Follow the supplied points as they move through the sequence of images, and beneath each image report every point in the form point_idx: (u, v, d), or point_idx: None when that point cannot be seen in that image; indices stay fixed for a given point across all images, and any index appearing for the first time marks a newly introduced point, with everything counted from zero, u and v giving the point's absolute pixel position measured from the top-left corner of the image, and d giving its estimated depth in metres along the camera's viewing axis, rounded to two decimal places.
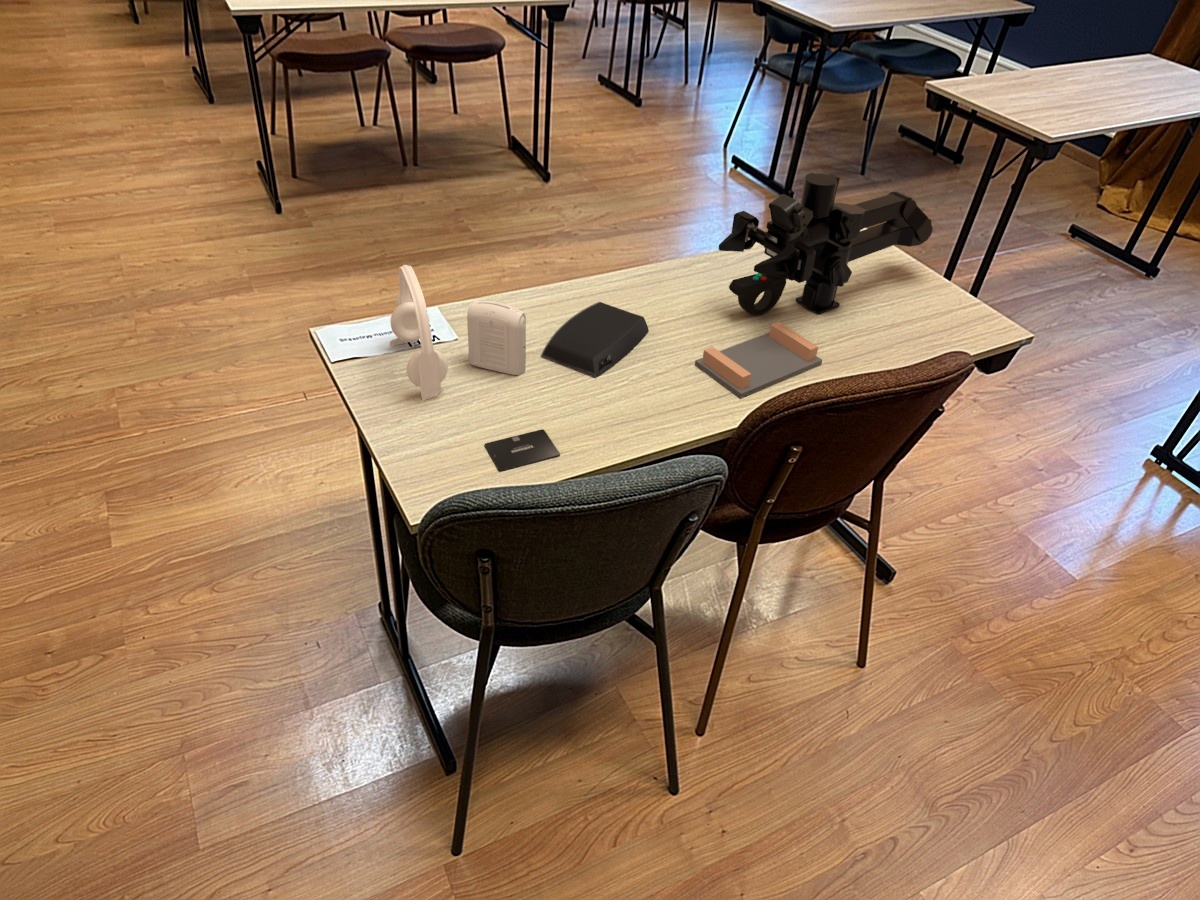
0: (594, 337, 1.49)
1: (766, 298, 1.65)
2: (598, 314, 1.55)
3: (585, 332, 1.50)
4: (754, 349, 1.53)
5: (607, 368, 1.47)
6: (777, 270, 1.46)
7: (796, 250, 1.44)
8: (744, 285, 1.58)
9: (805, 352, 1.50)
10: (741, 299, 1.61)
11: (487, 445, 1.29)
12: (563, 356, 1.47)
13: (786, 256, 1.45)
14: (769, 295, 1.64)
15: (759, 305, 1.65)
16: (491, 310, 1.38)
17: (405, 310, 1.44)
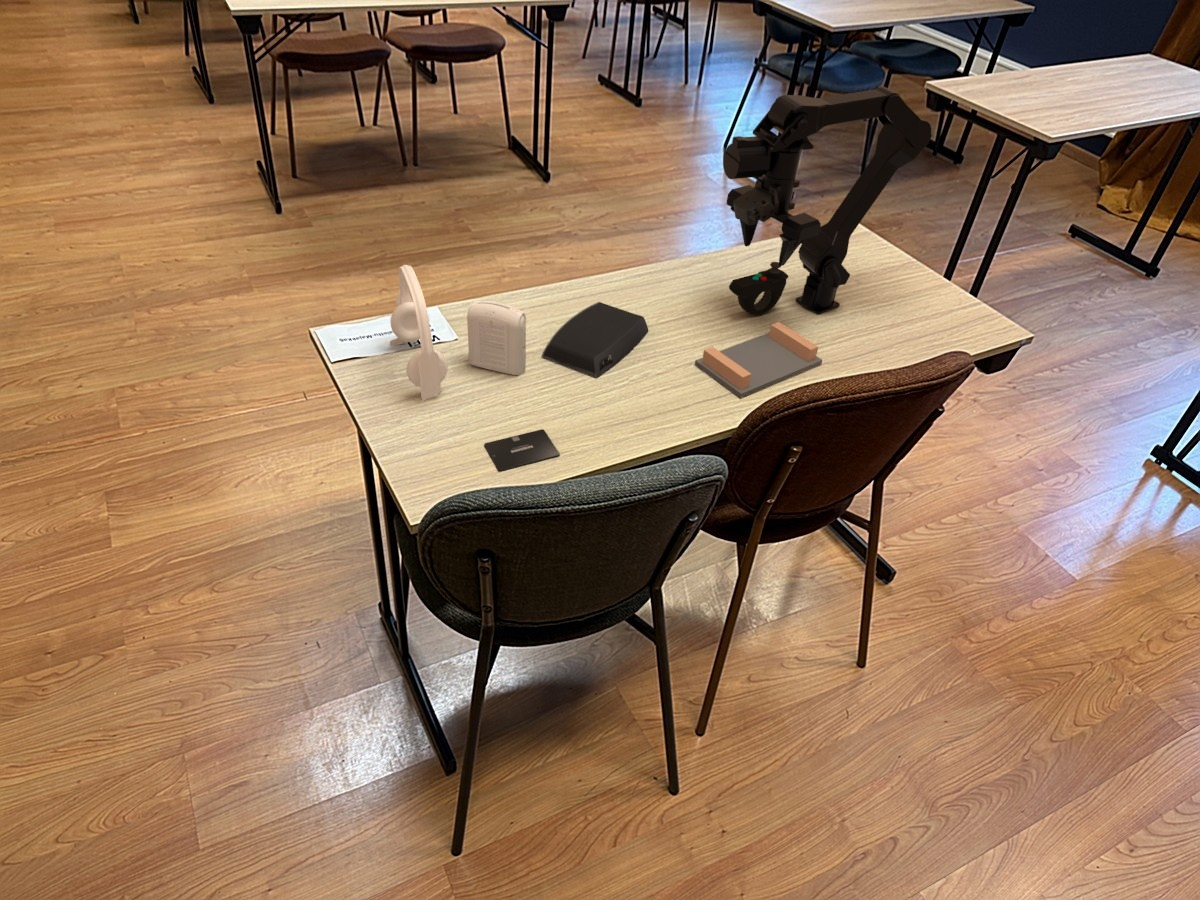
0: (594, 337, 1.49)
1: (766, 298, 1.65)
2: (598, 314, 1.55)
3: (585, 332, 1.50)
4: (754, 349, 1.53)
5: (608, 368, 1.47)
6: (795, 244, 1.51)
7: (788, 240, 1.47)
8: (744, 285, 1.58)
9: (805, 352, 1.50)
10: (741, 299, 1.61)
11: (487, 444, 1.29)
12: (564, 357, 1.47)
13: (788, 243, 1.49)
14: (769, 295, 1.64)
15: (759, 305, 1.65)
16: (491, 310, 1.38)
17: (405, 310, 1.44)
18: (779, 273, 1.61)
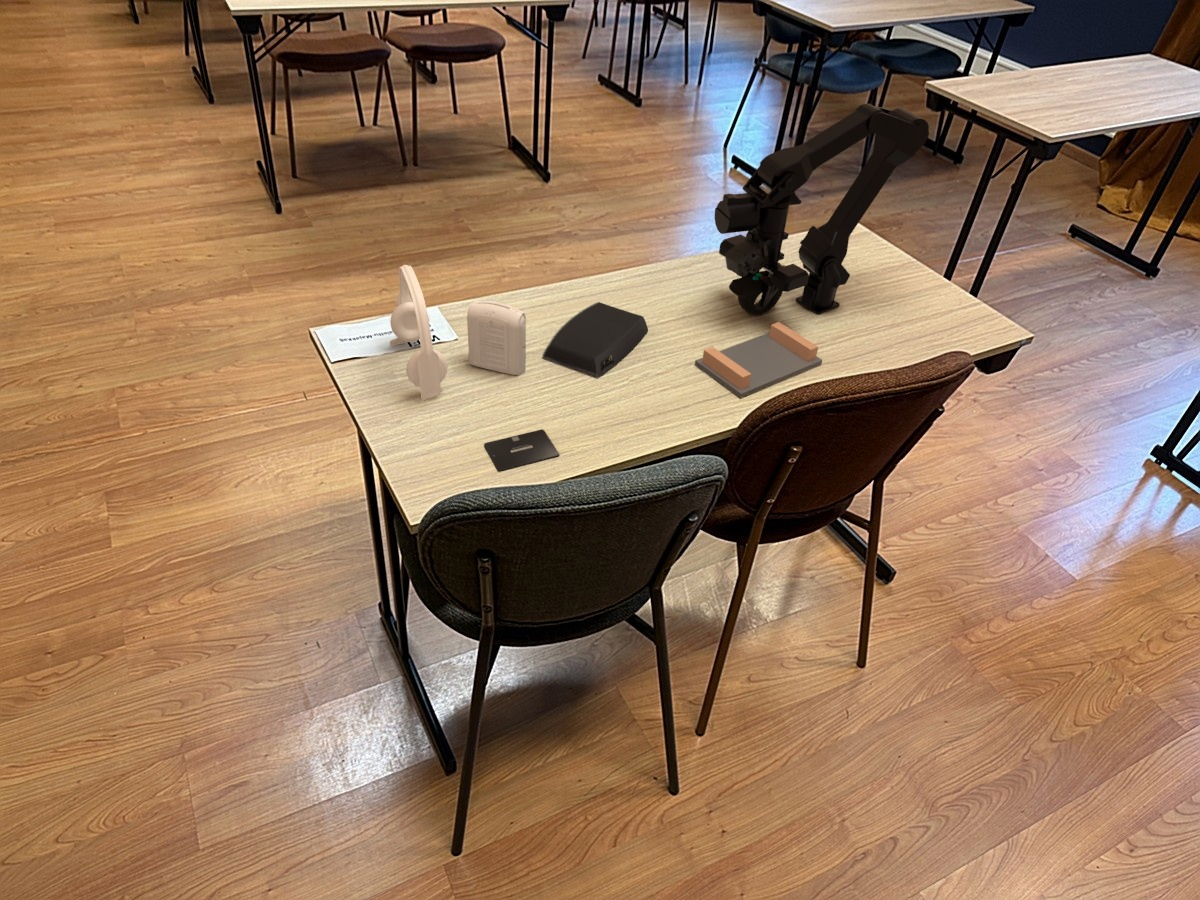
0: (595, 337, 1.49)
1: None
2: (598, 314, 1.55)
3: (586, 332, 1.50)
4: (754, 349, 1.53)
5: (609, 368, 1.47)
6: (776, 288, 1.59)
7: (768, 285, 1.55)
8: (744, 285, 1.58)
9: (805, 352, 1.50)
10: (741, 299, 1.61)
11: (487, 444, 1.29)
12: (565, 357, 1.47)
13: (768, 287, 1.57)
14: None
15: (759, 305, 1.65)
16: (491, 310, 1.38)
17: (405, 310, 1.44)
18: None
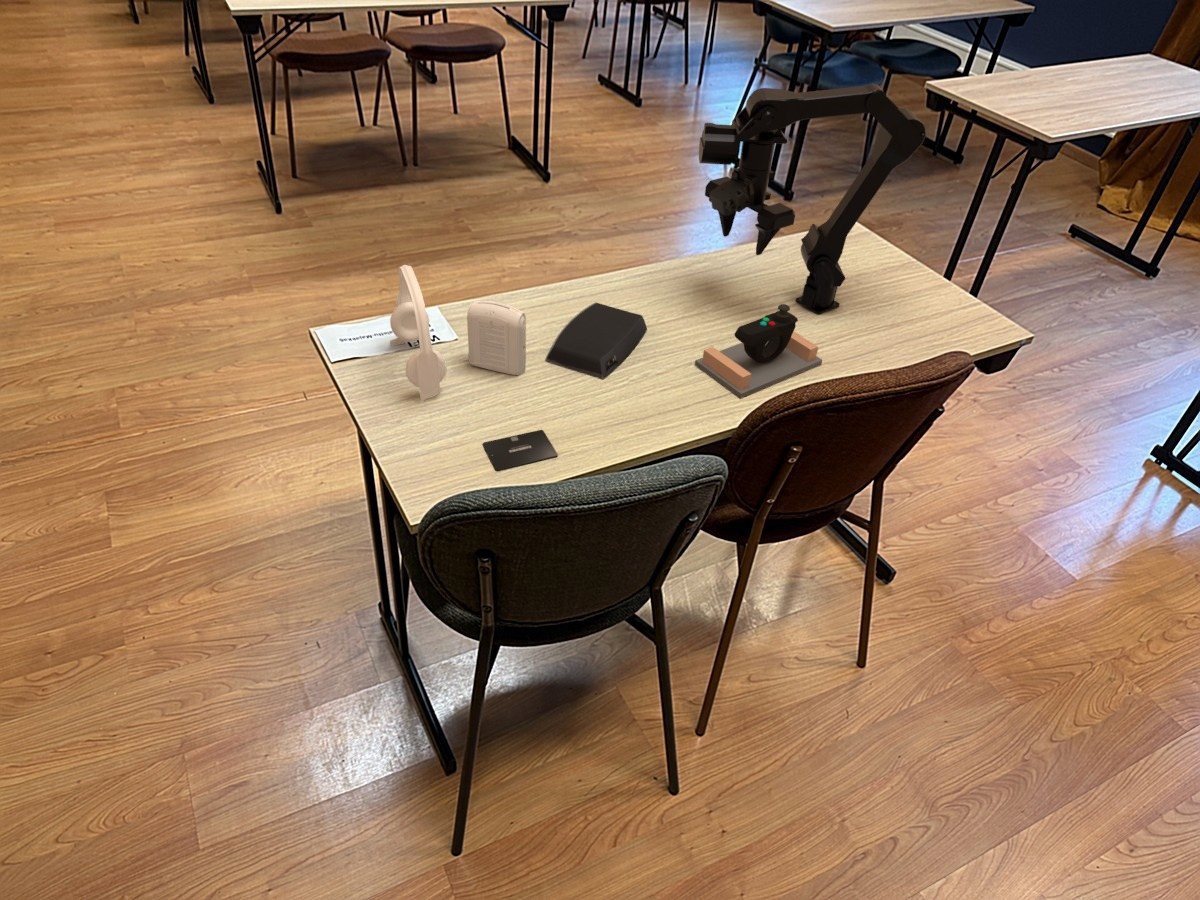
0: (597, 338, 1.49)
1: (773, 343, 1.50)
2: (597, 315, 1.55)
3: (588, 334, 1.50)
4: None
5: (613, 369, 1.47)
6: (771, 234, 1.55)
7: (763, 230, 1.51)
8: (753, 333, 1.43)
9: (805, 352, 1.50)
10: (747, 347, 1.46)
11: (486, 444, 1.30)
12: (569, 359, 1.46)
13: (764, 233, 1.53)
14: (777, 340, 1.49)
15: (766, 351, 1.50)
16: (491, 310, 1.38)
17: (405, 310, 1.44)
18: (788, 316, 1.46)
